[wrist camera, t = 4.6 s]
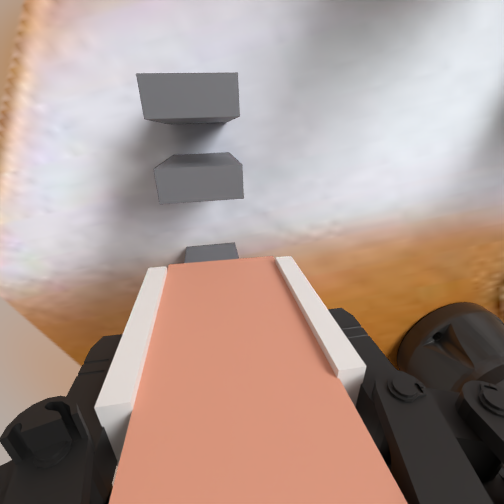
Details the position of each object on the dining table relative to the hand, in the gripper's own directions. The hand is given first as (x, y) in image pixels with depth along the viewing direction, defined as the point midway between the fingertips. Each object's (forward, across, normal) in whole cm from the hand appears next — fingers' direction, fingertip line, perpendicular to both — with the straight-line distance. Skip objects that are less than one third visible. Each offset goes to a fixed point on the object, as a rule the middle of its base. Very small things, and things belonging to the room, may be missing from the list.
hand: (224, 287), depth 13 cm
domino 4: (+15, +1, -4) cm, 16 cm away
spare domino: (+1, 0, 0) cm, 1 cm away
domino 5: (+15, +1, -8) cm, 17 cm away
